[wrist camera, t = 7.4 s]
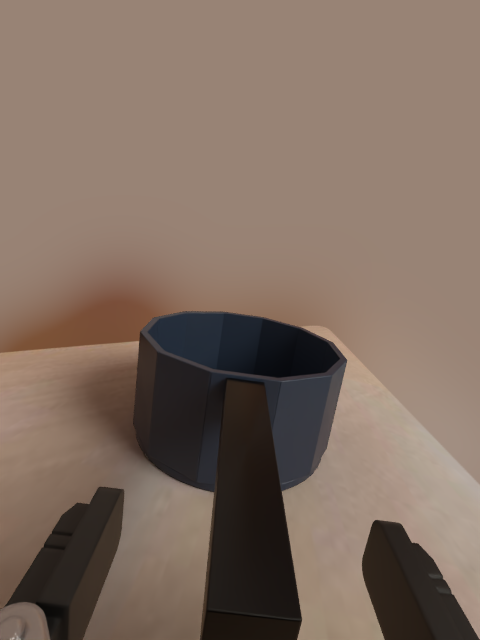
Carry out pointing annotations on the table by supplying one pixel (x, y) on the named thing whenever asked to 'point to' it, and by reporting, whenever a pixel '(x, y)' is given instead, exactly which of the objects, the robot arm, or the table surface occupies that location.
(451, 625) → the robot arm
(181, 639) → the table surface
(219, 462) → the pan
